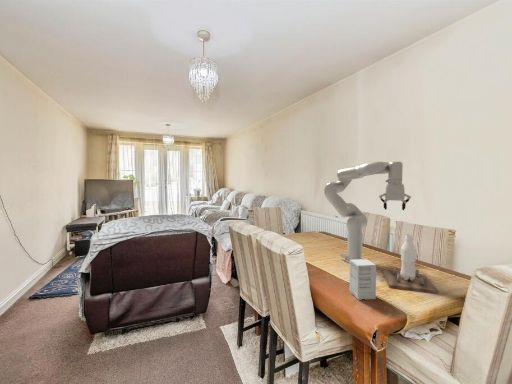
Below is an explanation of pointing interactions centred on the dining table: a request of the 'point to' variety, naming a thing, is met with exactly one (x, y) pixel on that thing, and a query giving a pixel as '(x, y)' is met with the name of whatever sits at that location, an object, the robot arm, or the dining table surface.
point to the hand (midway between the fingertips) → (394, 209)
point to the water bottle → (408, 259)
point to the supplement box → (362, 279)
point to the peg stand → (409, 282)
